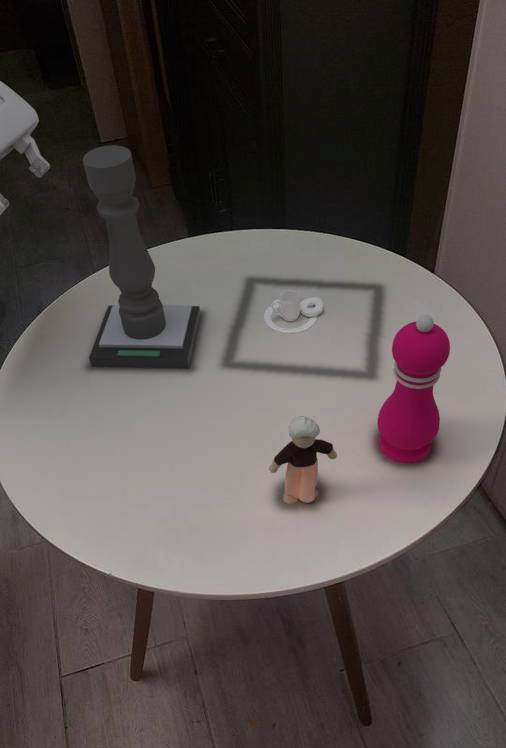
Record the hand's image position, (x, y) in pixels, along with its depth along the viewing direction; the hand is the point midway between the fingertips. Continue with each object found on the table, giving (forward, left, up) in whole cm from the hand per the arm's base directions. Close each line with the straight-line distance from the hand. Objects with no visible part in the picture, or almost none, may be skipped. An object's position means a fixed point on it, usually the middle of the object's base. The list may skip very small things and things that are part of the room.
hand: (25, 190), depth 84 cm
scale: (+11, 0, -24) cm, 26 cm away
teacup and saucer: (+34, +4, -24) cm, 42 cm away
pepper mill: (+47, -19, -24) cm, 56 cm away
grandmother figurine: (+35, -27, -24) cm, 51 cm away
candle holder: (+11, 0, -21) cm, 24 cm away
